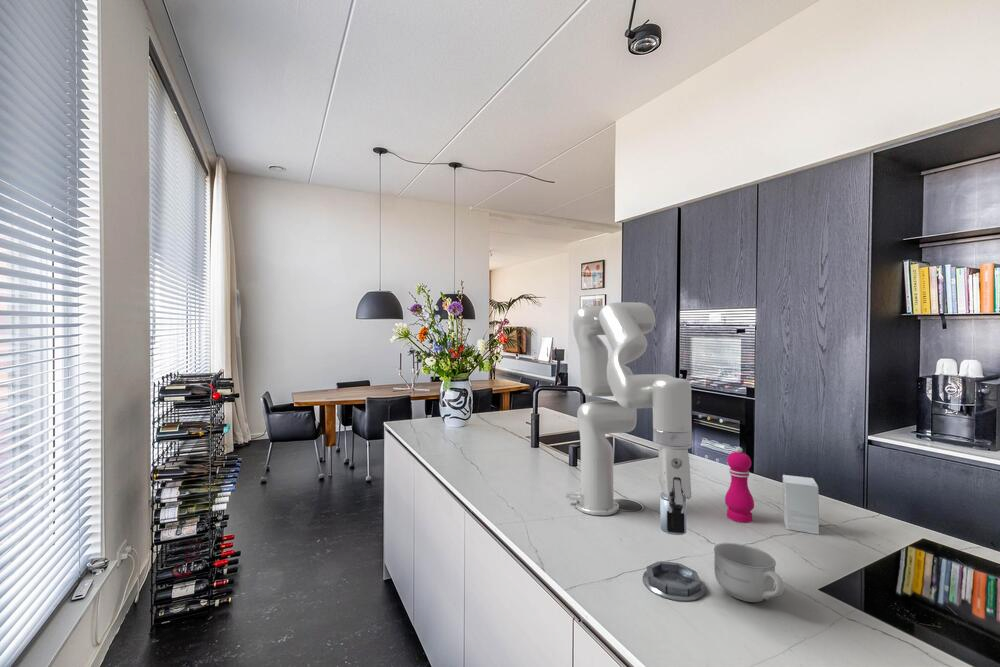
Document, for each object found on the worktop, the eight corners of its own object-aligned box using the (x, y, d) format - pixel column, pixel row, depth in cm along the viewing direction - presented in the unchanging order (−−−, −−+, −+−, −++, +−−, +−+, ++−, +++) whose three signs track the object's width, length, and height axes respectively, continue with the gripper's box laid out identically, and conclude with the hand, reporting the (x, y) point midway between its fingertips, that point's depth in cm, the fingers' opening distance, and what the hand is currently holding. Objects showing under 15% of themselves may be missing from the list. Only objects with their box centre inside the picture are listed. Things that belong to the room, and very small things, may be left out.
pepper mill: (758, 524, 119) (757, 450, 119) (729, 522, 121) (729, 449, 121) (749, 513, 126) (748, 444, 126) (721, 512, 128) (721, 443, 128)
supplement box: (814, 524, 119) (814, 477, 119) (819, 535, 113) (819, 486, 113) (782, 519, 123) (782, 473, 123) (785, 529, 116) (784, 481, 116)
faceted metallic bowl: (646, 597, 87) (646, 587, 87) (639, 566, 98) (639, 557, 98) (711, 604, 84) (711, 594, 84) (697, 571, 96) (697, 562, 96)
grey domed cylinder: (688, 536, 88) (688, 501, 88) (662, 533, 89) (662, 499, 89) (683, 525, 93) (683, 492, 93) (658, 523, 94) (658, 490, 94)
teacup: (703, 579, 93) (703, 541, 93) (752, 576, 94) (752, 539, 94) (745, 622, 79) (745, 578, 79) (802, 618, 80) (802, 574, 80)
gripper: (701, 449, 82) (702, 546, 82) (683, 430, 99) (684, 511, 99) (659, 447, 84) (660, 543, 84) (648, 428, 100) (649, 508, 100)
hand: (673, 525), depth 91 cm, fingers closed on grey domed cylinder, 5 cm apart
